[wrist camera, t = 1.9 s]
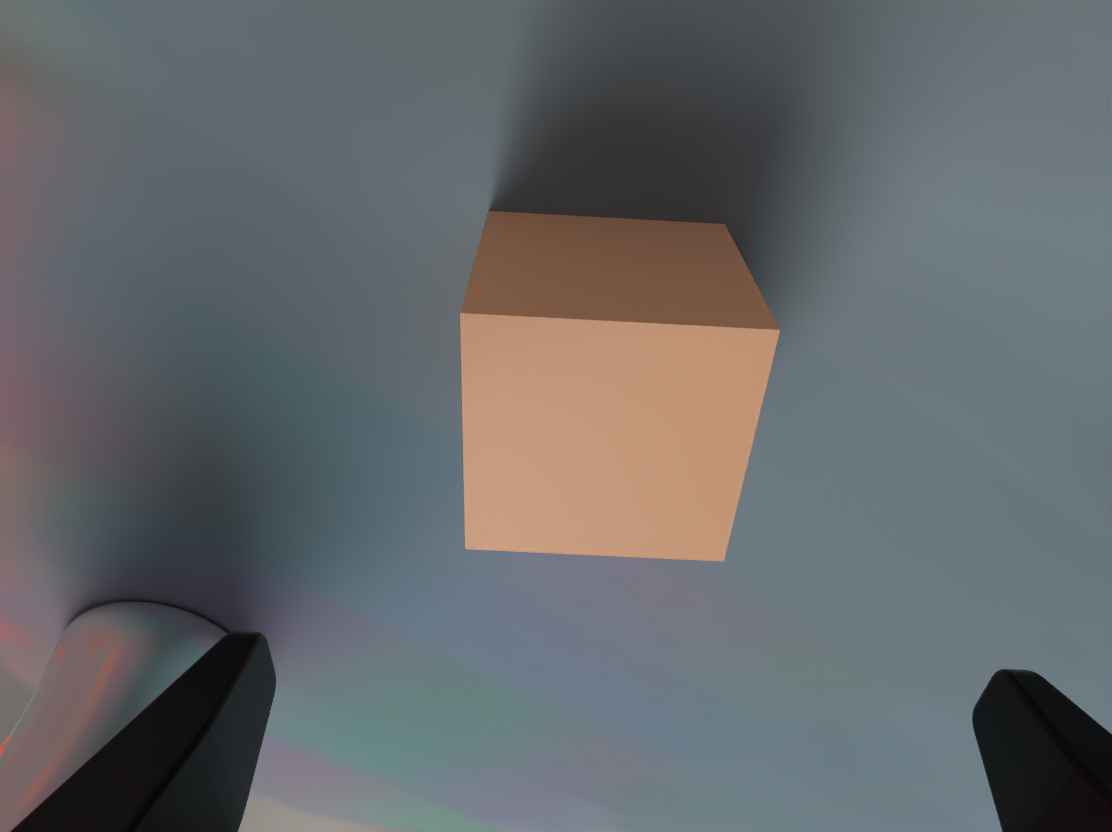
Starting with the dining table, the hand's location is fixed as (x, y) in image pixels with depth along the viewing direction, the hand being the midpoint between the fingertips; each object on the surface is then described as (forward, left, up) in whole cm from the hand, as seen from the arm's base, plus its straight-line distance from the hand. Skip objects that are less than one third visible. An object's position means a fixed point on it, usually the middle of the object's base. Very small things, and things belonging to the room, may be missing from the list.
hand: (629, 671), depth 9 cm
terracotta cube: (0, 0, -10) cm, 10 cm away
